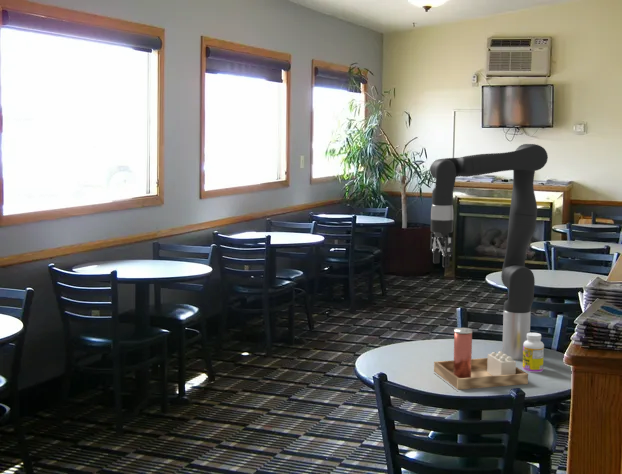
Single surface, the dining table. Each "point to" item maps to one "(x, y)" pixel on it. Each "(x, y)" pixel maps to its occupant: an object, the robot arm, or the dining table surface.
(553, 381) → the dining table surface
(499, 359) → the white toy brick
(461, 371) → the coffee tin
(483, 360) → the tray
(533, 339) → the supplement bottle
